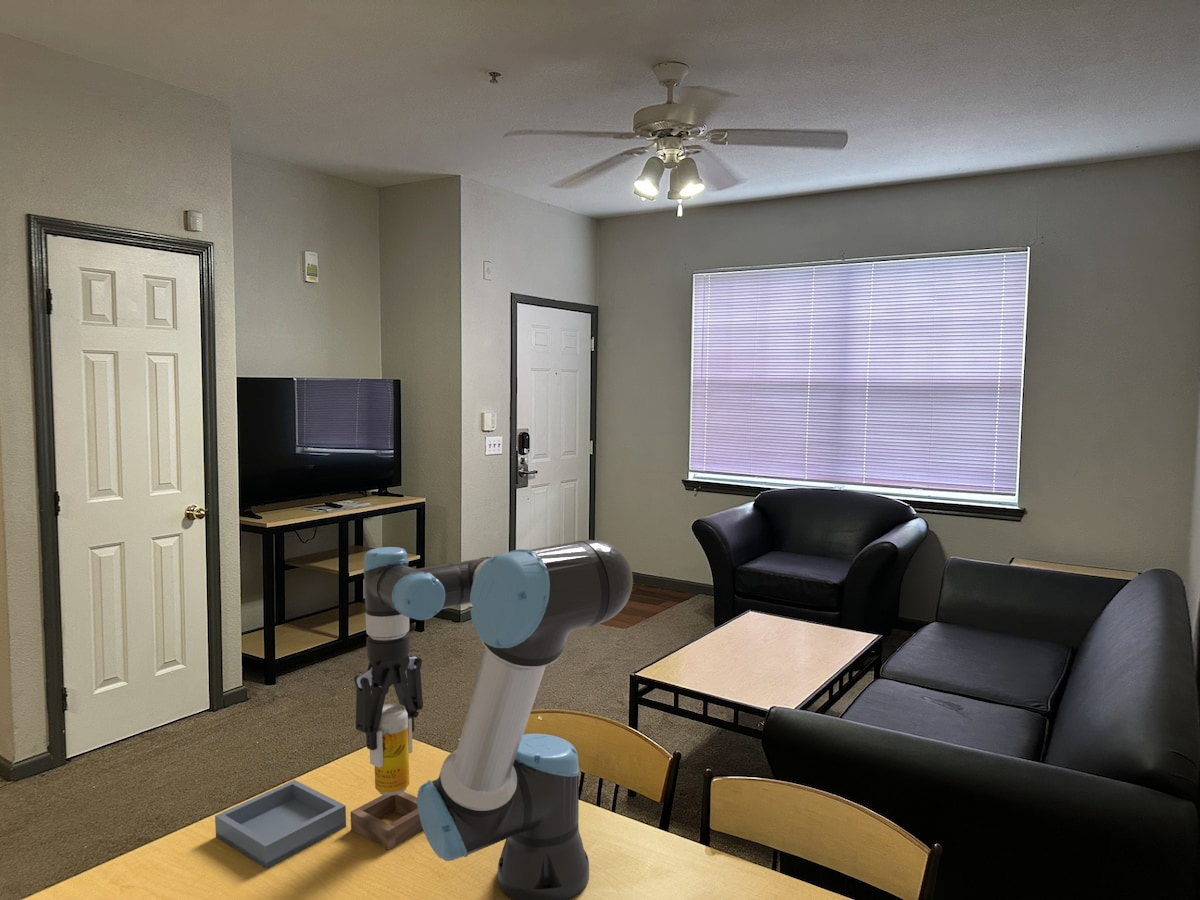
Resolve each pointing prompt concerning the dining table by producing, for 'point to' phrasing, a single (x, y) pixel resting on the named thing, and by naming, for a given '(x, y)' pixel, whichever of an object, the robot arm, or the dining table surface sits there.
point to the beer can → (393, 751)
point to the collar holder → (381, 832)
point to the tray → (280, 823)
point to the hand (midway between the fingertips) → (391, 757)
